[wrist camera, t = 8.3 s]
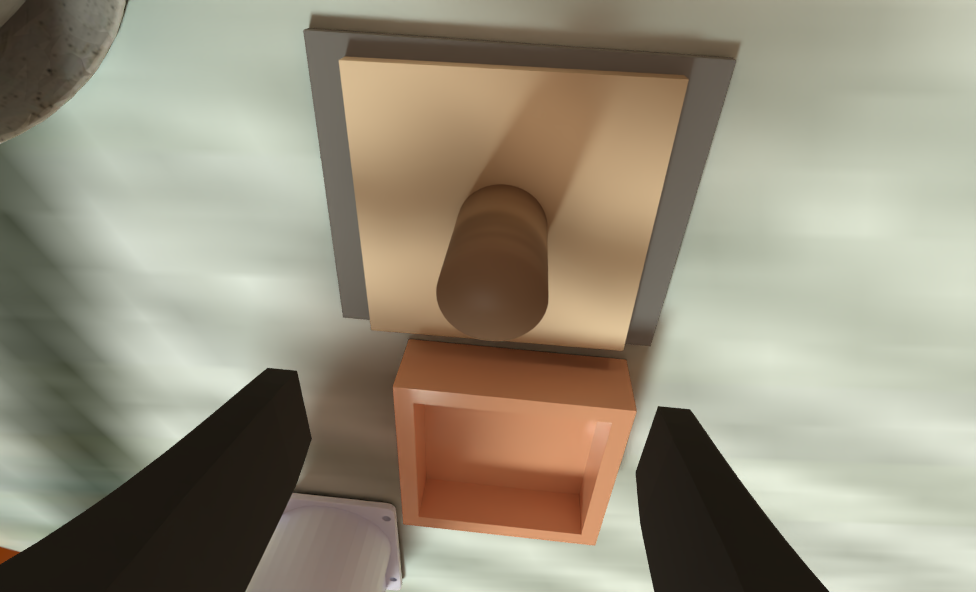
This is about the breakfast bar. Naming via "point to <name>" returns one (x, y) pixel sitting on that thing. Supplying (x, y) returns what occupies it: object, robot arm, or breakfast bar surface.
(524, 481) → the dish
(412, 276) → the lid
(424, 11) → the breakfast bar surface
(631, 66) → the mat
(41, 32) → the ceramic mug
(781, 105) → the breakfast bar surface
